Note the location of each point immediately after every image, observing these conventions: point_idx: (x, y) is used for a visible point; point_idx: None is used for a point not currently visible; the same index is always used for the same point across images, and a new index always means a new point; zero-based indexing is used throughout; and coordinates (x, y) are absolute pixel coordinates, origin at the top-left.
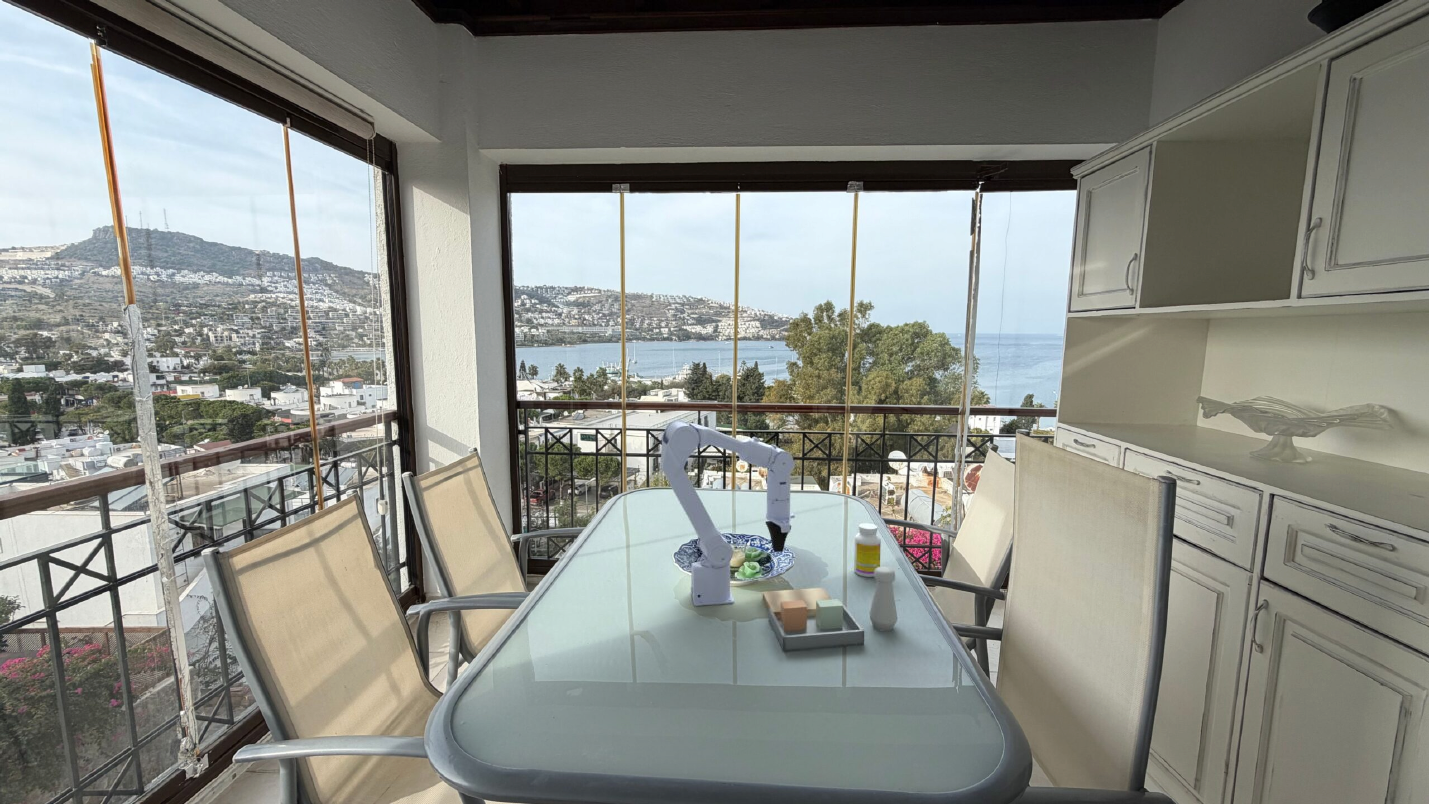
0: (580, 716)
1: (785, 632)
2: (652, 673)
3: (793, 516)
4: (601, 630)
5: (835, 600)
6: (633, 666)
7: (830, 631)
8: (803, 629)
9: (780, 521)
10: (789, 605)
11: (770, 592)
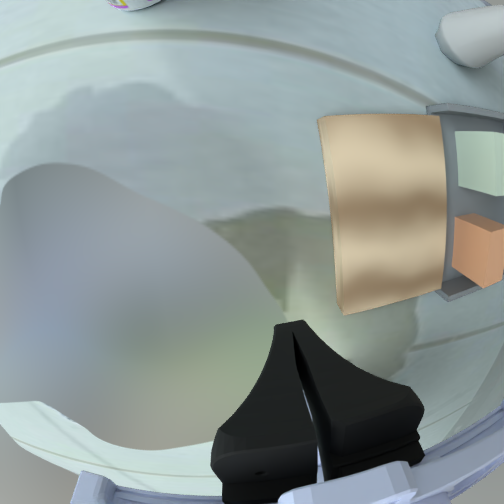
0: (481, 411)
1: None
2: (467, 396)
3: (412, 481)
4: None
5: (498, 143)
6: (450, 414)
7: None
8: None
9: (479, 478)
10: (498, 268)
11: (351, 295)
